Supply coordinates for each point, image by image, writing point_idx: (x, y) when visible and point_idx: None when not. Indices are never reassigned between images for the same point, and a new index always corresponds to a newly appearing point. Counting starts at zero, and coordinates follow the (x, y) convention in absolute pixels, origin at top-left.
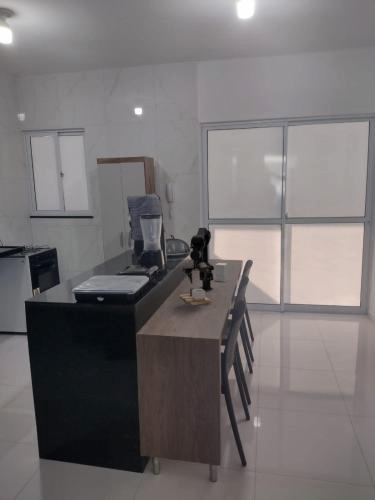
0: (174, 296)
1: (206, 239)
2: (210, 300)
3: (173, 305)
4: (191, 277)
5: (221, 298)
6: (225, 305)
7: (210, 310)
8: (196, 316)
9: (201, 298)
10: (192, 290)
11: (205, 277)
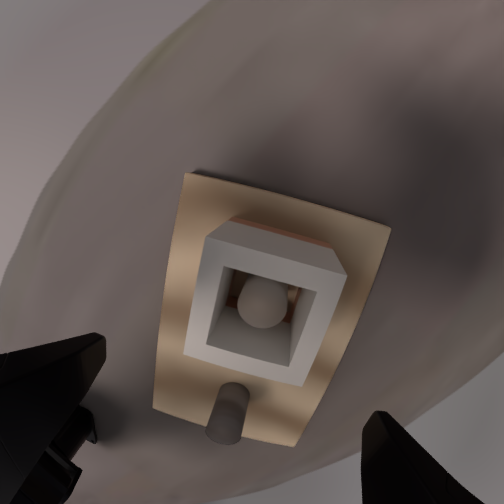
0: (310, 455)
1: None
2: (193, 184)
3: (462, 325)
4: (441, 494)
5: (76, 213)
6: (164, 47)
7: (345, 26)
8: (482, 35)
9: (272, 232)
10: (306, 373)
11: (53, 385)
